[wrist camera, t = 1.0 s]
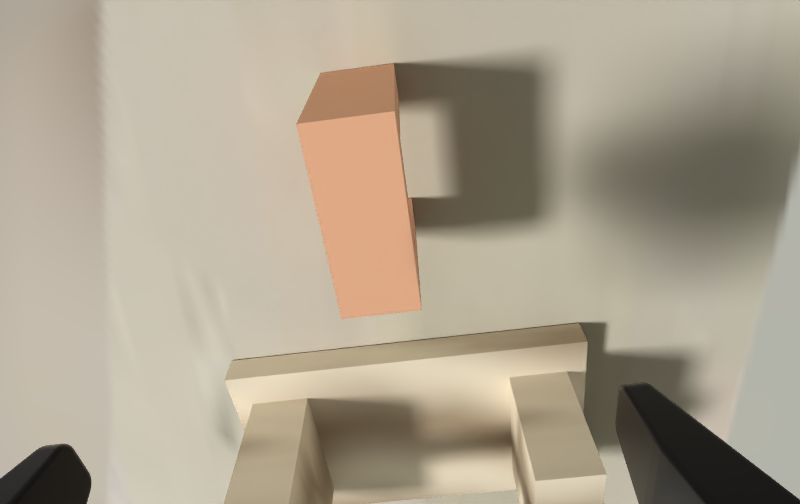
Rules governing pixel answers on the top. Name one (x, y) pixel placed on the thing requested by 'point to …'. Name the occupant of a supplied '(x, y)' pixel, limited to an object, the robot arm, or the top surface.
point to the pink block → (362, 190)
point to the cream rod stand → (418, 421)
